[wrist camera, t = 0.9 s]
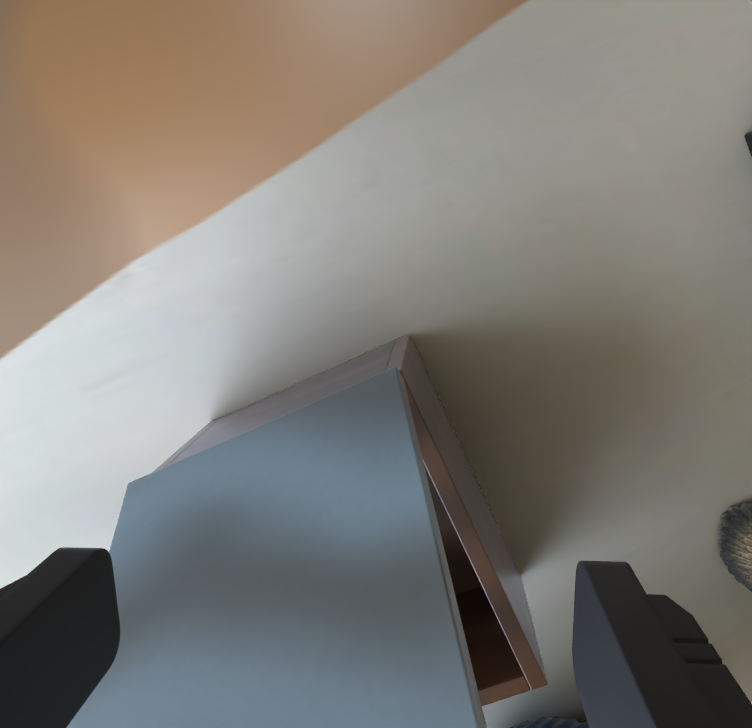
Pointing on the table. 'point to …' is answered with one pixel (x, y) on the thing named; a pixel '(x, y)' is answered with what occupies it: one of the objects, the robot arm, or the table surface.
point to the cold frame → (453, 511)
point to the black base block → (749, 141)
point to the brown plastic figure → (737, 543)
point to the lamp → (552, 723)
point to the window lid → (289, 582)
